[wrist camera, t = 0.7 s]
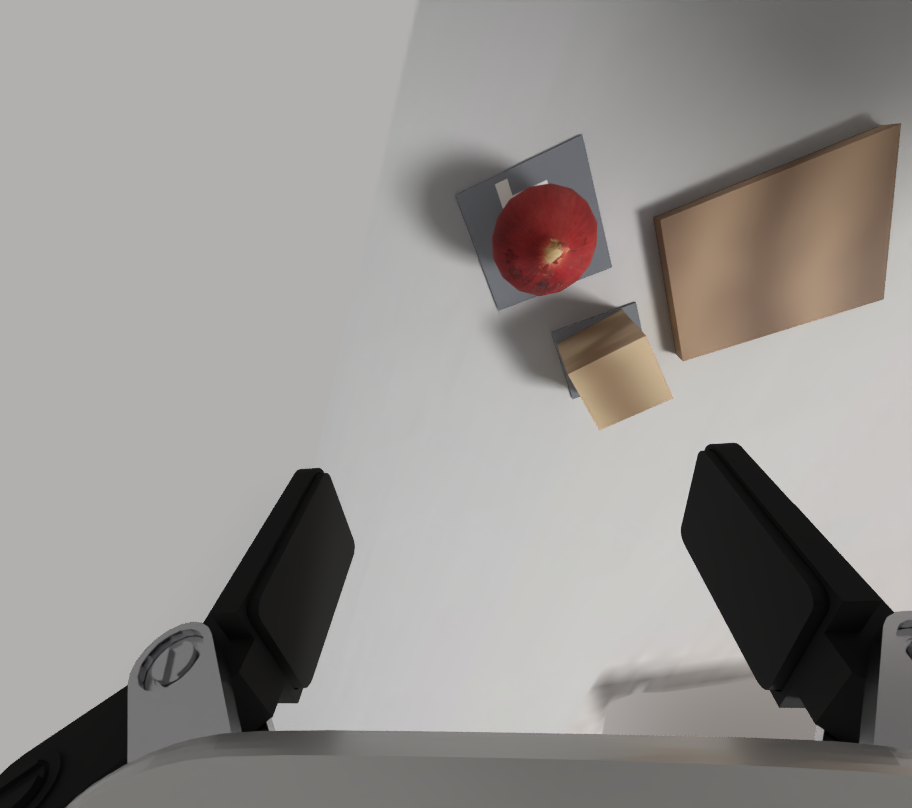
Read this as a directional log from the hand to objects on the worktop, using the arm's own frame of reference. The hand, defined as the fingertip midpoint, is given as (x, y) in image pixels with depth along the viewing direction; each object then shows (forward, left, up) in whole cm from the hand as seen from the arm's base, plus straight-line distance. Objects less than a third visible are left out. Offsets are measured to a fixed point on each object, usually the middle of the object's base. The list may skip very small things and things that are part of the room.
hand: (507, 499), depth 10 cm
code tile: (-4, -2, -21) cm, 21 cm away
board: (-17, +5, -21) cm, 27 cm away
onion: (-4, -2, -21) cm, 21 cm away
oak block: (-6, +8, -21) cm, 23 cm away
